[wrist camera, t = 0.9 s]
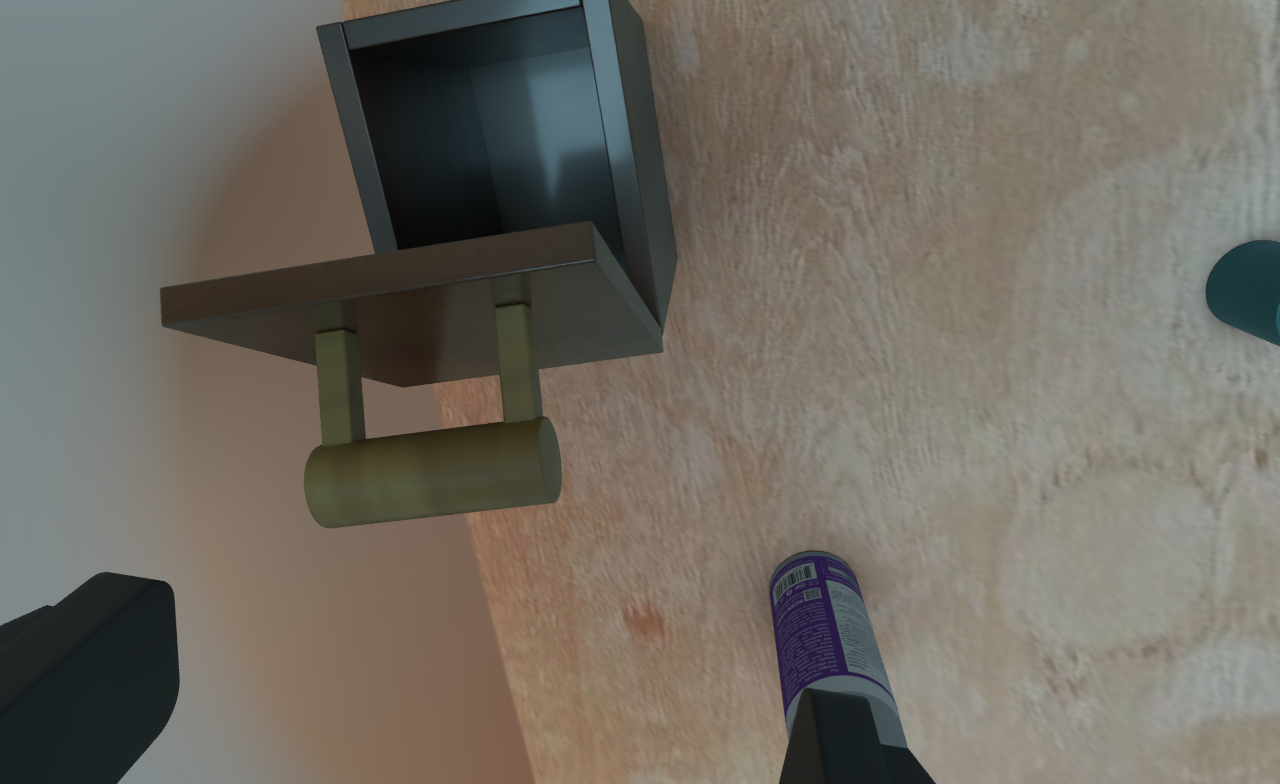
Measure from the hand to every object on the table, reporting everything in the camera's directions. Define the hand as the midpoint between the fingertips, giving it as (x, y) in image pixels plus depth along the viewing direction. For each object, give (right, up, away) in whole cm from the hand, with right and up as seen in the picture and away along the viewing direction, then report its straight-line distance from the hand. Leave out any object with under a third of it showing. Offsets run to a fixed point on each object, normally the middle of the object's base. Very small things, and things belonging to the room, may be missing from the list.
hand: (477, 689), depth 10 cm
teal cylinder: (+30, +9, +27) cm, 41 cm away
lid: (-2, +6, +11) cm, 12 cm away
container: (+11, -7, +34) cm, 37 cm away
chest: (-1, +14, +28) cm, 31 cm away
